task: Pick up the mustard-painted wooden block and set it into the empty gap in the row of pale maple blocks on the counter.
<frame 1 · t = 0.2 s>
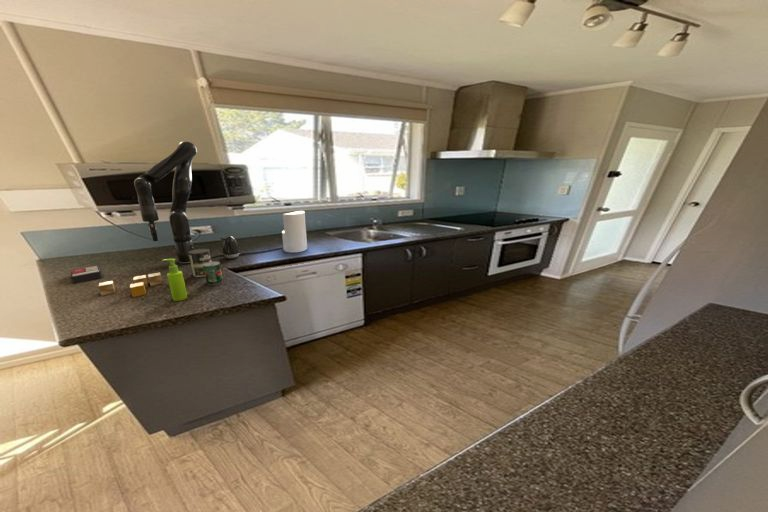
hand: (155, 239, 172), 17 cm above the countertop, tool pointing down, fingers open, 8 cm apart
mustard block: (139, 294, 141), on the countertop
maple block middle: (142, 286, 150), on the countertop
cylinder: (295, 249, 217), on the countertop
maple block 1: (108, 292, 142), on the countertop
red and grey box: (87, 277, 160), on the countertop
coffee can: (203, 274, 167), on the countertop
canned tomato: (215, 282, 156), on the countertop
soap dispenser: (179, 298, 137), on the countertop
dark ribbed dome: (232, 257, 195), on the countertop
maple block 2: (156, 283, 153), on the countertop
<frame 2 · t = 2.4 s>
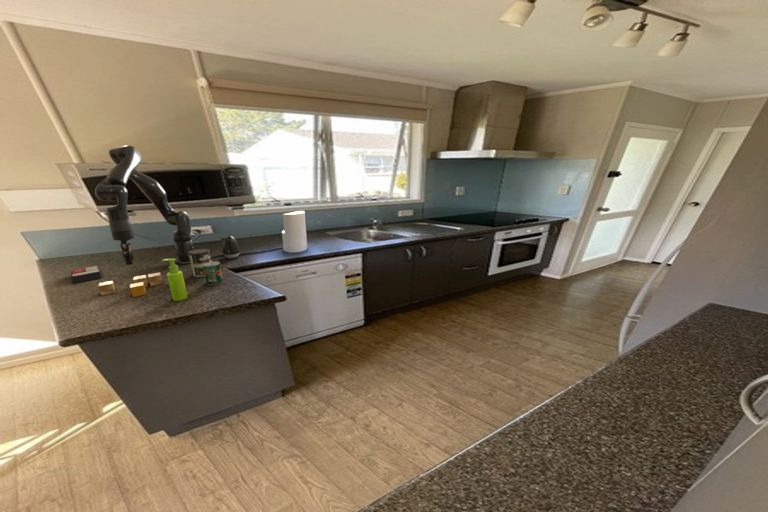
hand: (130, 262, 137), 16 cm above the countertop, tool pointing down, fingers open, 8 cm apart
nothing on the countertop moved.
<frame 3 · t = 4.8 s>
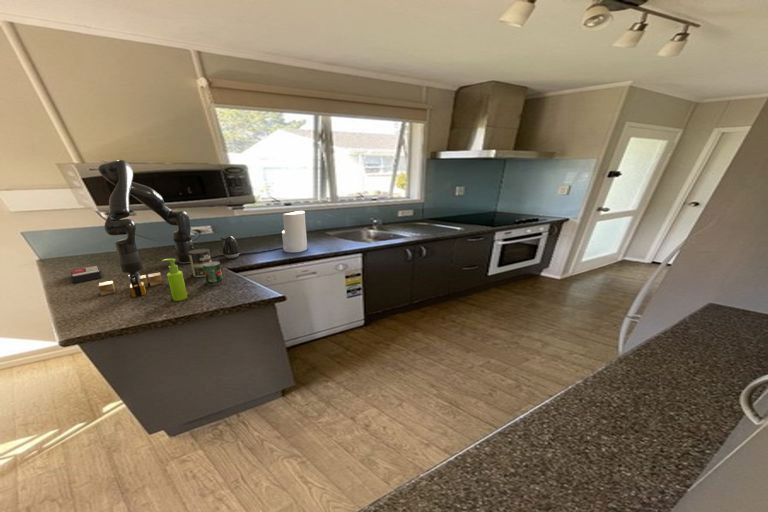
hand: (139, 293, 141), 0 cm above the countertop, tool pointing down, fingers closed on mustard block, 5 cm apart
mustard block: (139, 294, 141), on the countertop, touching gripper
everything else where it was.
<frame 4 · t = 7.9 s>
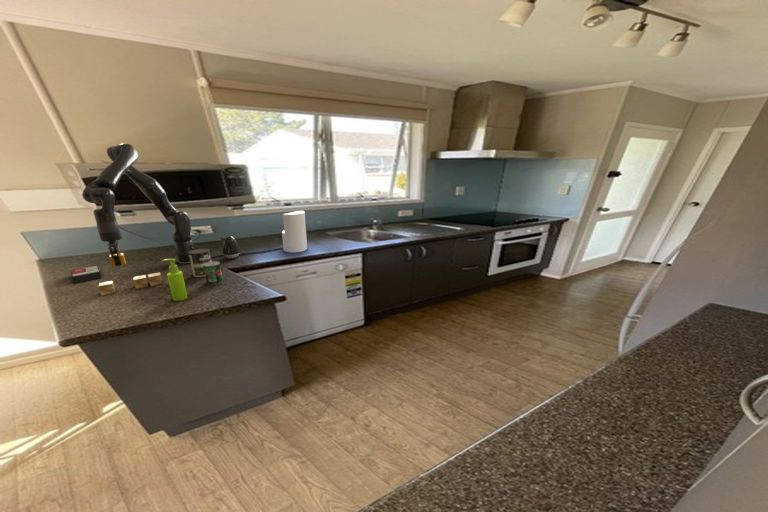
hand: (118, 263, 141), 14 cm above the countertop, tool pointing down, fingers closed on mustard block, 5 cm apart
mustard block: (119, 264, 141), point 14 cm above the countertop, touching gripper
everything else where it was.
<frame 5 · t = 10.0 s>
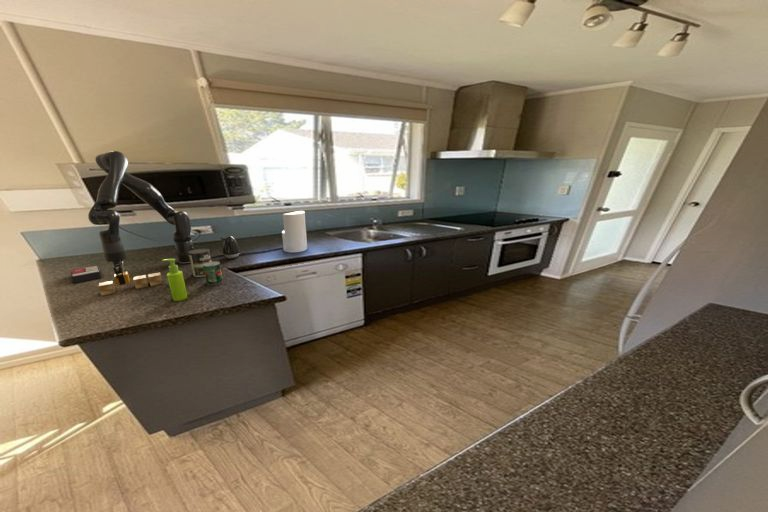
hand: (123, 282, 145), 4 cm above the countertop, tool pointing down, fingers closed on mustard block, 5 cm apart
mustard block: (123, 283, 145), point 3 cm above the countertop, touching gripper
everything else where it was.
when the fingers open (0 cm above the countertop, at t = 11.3 s): mustard block stays where it is, on the countertop.
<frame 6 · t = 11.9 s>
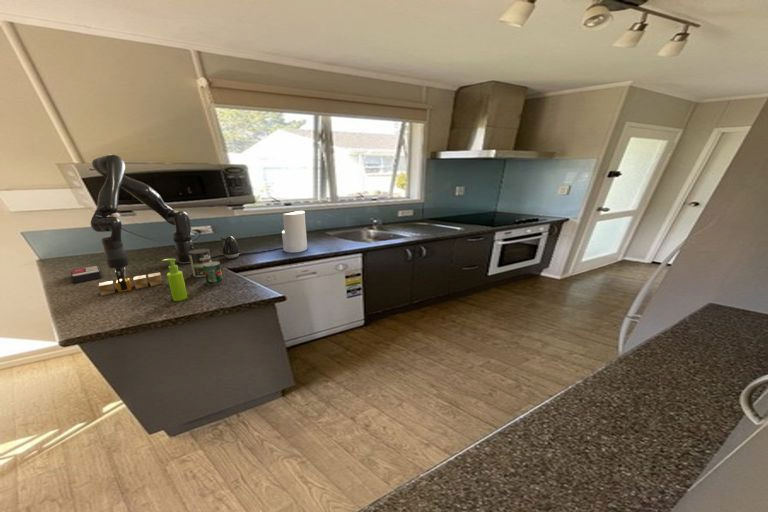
hand: (125, 286, 145), 1 cm above the countertop, tool pointing down, fingers open, 8 cm apart
mustard block: (125, 289, 146), on the countertop
everything else where it was.
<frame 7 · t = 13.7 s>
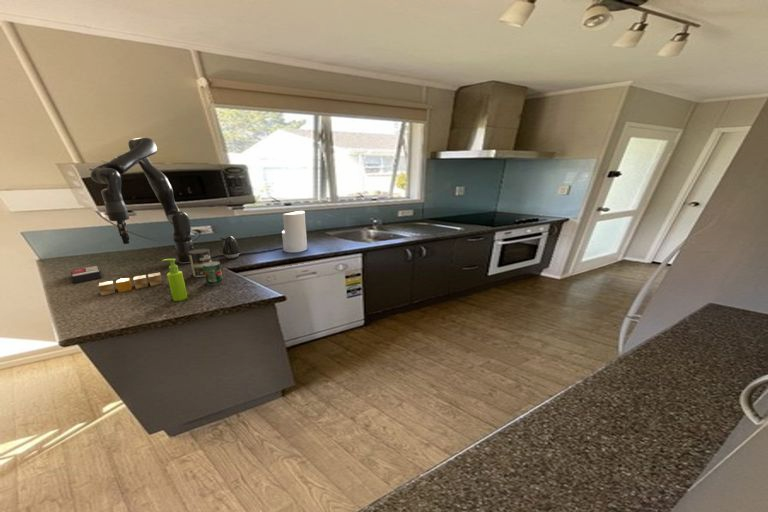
hand: (126, 241, 146), 23 cm above the countertop, tool pointing down, fingers open, 8 cm apart
nothing on the countertop moved.
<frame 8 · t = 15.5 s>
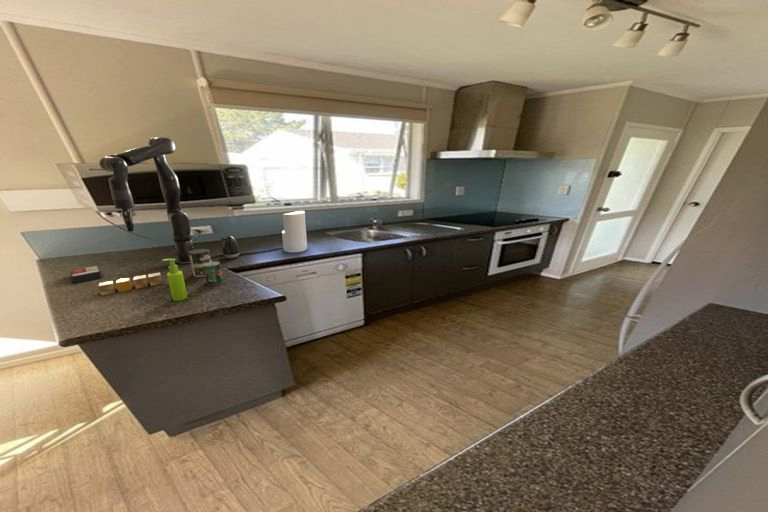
hand: (131, 229, 150), 28 cm above the countertop, tool pointing down, fingers open, 8 cm apart
nothing on the countertop moved.
at the end: mustard block 0.2 cm from the target spot, on the countertop; mustard block tilted 0°; maple block 1 moved 0.0 cm from its start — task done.
